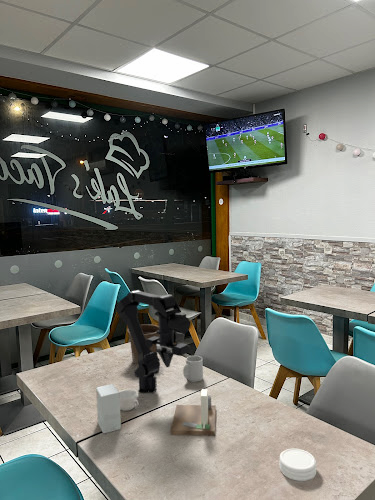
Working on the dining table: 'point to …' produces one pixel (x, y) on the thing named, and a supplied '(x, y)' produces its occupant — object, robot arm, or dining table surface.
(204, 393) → the lever
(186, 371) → the cup
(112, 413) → the small box
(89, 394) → the dining table surface
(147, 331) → the plant pot
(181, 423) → the brown flat panel
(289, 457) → the coaster
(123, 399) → the teacup
